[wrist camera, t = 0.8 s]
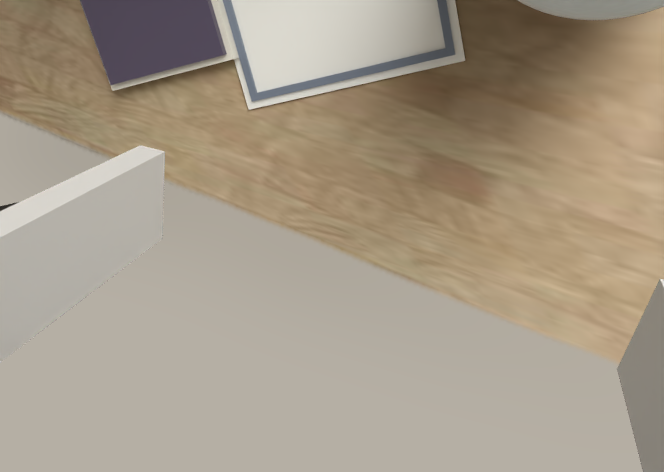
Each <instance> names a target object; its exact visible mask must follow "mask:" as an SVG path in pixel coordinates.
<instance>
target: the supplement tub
mask: <svg viewBox="0 0 664 472" xmlns="http://www.w3.org/2000/svg"><path fill="white" fill-rule="evenodd" d="M518 1H519V2H521V3H523V4H525V5H527V6H529V7H531V8H533V9H536V10H539V11H541V12H544V13H548V14H551V15H555V16H559V17H565V18H571V19H578V20H608V19H618V18H624V17H630V16H634V15H638V14H642V13H646V12H649V11H652V10H655V9H658V8H661V7H664V0H518Z"/></svg>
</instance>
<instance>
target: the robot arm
mask: <svg viewBox="0 0 664 472" xmlns="http://www.w3.org/2000/svg"><path fill="white" fill-rule="evenodd" d="M164 165H165V151H161V150H157V149H153V148H149V147H145V146H141V145H140V146H138V147H136V148H133V149H131V150H129V151H127V152H125V153H123V154H121V155H119V156H116V157H114V158H112V159H110V160H108V161H106V162H104V163H102V164H99V165H97V166H95V167H93V168H91V169H89V170H87V171H85V172H83V173H80V174H78V175H76V176H74V177H72V178H70V179H68V180H66V181H63V182H61V183H59V184H57V185H55V186H53V187H51V188H49V189H47V190H44V191H42V192H40V193H38V194H36V195H34V196H32V197H30V198H27V199H25V200H23V201H21V202H18V203H13V204H9V205H4V206H0V362H2V361H3V360H4V359H6V358H7V357H8V356H10V355H11V354H12V353H13V352H15V351H16V350H17V349H19V348H20V347H21V346H23V345H24V344H25V343H27V342H28V341H29V340H31V339H32V338H33V337H34V336H36V335H37V334H38V333H40V332H41V331H42V330H43V329H45V328H46V327H48V326H49V325H50V324H51V323H53V322H54V321H55V320H57V319H58V318H59V317H61V316H62V315H63V314H65V313H66V312H67V311H68V310H70V309H71V308H72V307H74V306H75V305H76V304H77V303H79V302H80V301H82V300H83V299H84V298H85V297H87V296H88V295H89V294H91V293H92V292H93V291H94V290H96V289H97V288H98V287H100V286H101V285H102V284H104V283H105V282H106V281H108V280H109V279H110V278H112V277H113V276H114V275H116V274H117V273H118V272H119V271H121V270H122V269H123V268H125V267H126V266H127V265H129V264H130V263H131V262H133V261H134V260H135V259H136V258H138V257H139V256H140V255H142V254H143V253H144V252H146V251H147V250H148V249H150V248H151V247H152V246H153V245H155V244H156V243H157V242H159V241H160V240H161V239H162V236H163V235H162V233H163V201H164V200H163V199H164ZM617 371H618V375H619V379H620V383H621V387H622V391H623V394H624V398H625V402H626V406H627V410H628V414H629V418H630V422H631V426H632V430H633V434H634V438H635V442H636V446H637V449H638V454H639V457H640V462H641V465H642V469H643V472H664V280H662V279H660V280H659V282H658V284H657V286H656V288H655V290H654V292H653V295H652V297H651V299H650V301H649V303H648V305H647V307H646V309H645V311H644V313H643V316H642V318H641V320H640V322H639V324H638V326H637V328H636V330H635V332H634V335H633V337H632V339H631V341H630V343H629V345H628V347H627V349H626V351H625V353H624V356H623V358H622V360H621V362H620V364H619V366H618V368H617Z"/></svg>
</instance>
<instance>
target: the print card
mask: <svg viewBox="0 0 664 472" xmlns="http://www.w3.org/2000/svg"><path fill="white" fill-rule="evenodd" d="M223 3H224V7H225V10H226V14H227V17H228V21H229V24H230V28H231V31H232V35H233V38H234V41H235V45H236V48H237V52H238V55H239V58H236V59H234V61H235V64H236V68H237V71H238V75H239V78H240V82H241V85H242V89H243V92H244V96H245V99H246V102H247V106H248V109H249V110H250V109H254V108H259V107H263V106H268V105H272V104H276V103H281V102H285V101H290V100H294V99H299V98H303V97H307V96H312V95H316V94H321V93H325V92H330V91H334V90H338V89H343V88H347V87H352V86H356V85H360V84H365V83H369V82H374V81H378V80H383V79H387V78H391V77H396V76H400V75H405V74H409V73H413V72H418V71H422V70H427V69H431V68H436V67H440V66H444V65H449V64H453V63H458V62H462V61H465V55H464V49H463V43H462V37H461V31H460V25H459V19H458V13H457V8H456V2H455V0H223Z"/></svg>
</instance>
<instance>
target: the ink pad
mask: <svg viewBox="0 0 664 472" xmlns="http://www.w3.org/2000/svg"><path fill="white" fill-rule="evenodd" d="M80 2H81V5H82V8H83V11H84V13H85V16H86V19H87V22H88V24H89V27H90V30H91V33H92V36H93V38H94V41H95V44H96V47H97V49H98V52H99V55H100V58H101V60H102V63H103V66H104V69H105V72H106V74H107V77H108V80H109V83H110V85H111V88H112V91H114V90H118V89H122V88H126V87H129V86H133V85H137V84H141V83H145V82H148V81H152V80H156V79H160V78H164V77H168V76H171V75H175V74H179V73H183V72H187V71H190V70H194V69H198V68H202V67H206V66H209V65H213V64H217V63H221V62H225V61H229V60H232V59H236V58H239V55H238V52H237V48H236V45H235V41H234V38H233V35H232V31H231V28H230V24H229V21H228V17H227V14H226V10H225V7H224V3H223V0H80Z"/></svg>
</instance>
